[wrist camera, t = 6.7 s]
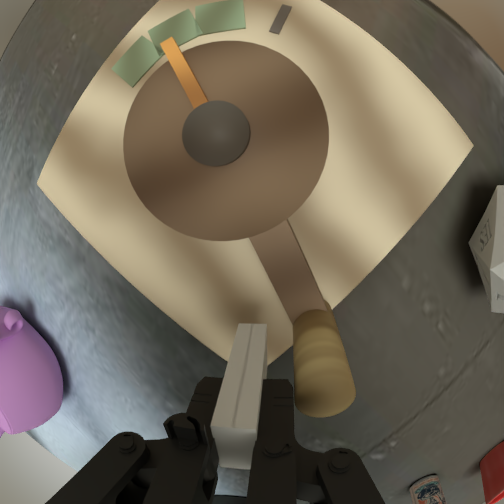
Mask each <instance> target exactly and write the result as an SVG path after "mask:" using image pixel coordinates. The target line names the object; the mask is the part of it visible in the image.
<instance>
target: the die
mask: <svg viewBox="0 0 504 504" xmlns="http://www.w3.org/2000/svg"><path fill="white" fill-rule="evenodd" d="M468 243H469V246H470V248H471V251H472V254H473V256H474V259H475V261H476V264H477V265H478V270H479V273H480V276H481V278H482V282H483V285H484V288H485V291H486V294H487V298H488V301H489V305H490V308H491V312H497V313H504V185H497V187H496V189H495V192H494V194H493V196H492V198H491V200H490V202H489V204H488V207H487V209H486V211H485V213H484V215H483V217H482V219H481V220H480V222H479V224H478V226H477V228H476V230H475V232H474V233H473V235H472V237H471V239H470V241H469V242H468Z"/></svg>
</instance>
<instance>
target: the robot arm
mask: <svg viewBox="0 0 504 504" xmlns="http://www.w3.org/2000/svg"><path fill="white" fill-rule="evenodd" d="M266 377H267V324H244V323H239V324H238V328H237V331H236V335H235V339H234V342H233V346H232V350H231V353H230V357H229V360H228V364H227V368H226V371H225V375H224V378H215V377H204V378H203V379H202V380H201V381H200V382H199V383H198V384H197V386H196V389H195V391H194V395H193V396H192V399H191V402H190V404H189V407H188V409H187V412H186V413H179V414H175V415H172V416H171V417H169V418H168V419H167V420H166V421H165V422H164V424H163V425H164V427H165V430H166V432H167V435H168V437H169V438H166V439H160V440H144V439H143V437H141V436H140V435H139V434H137V433H134V432H122V433H119V434H117V435H116V436H114V437H113V438H112V439H111V440H110V441H109V442H108V443H107V444H106V445H105V446H104V447H103V448H102V449H101V450H100V451H99V452H98V453H97V454H96V455H95V456H94V457H93V458H92V459H91V460H90V461H89V462H88V463H87V464H86V465H85V466H84V467H83V468H82V469H81V470H80V471H79V472H78V473H77V474H76V475H75V476H74V477H73V478H72V479H70V481H68V482H67V483H66V484H65V485H64V486H63V487H62V488H61V489H60V490H59V491H58V492H57V493H56V494H55V495H54V496H53V497H52V498H51V499H50V500H48V501H47V502H46V503H45V504H296V499H300V500H304V501H308V502H310V504H385V502H384V501H383V499H382V497H381V495H380V493H379V491H378V490H377V488H376V486H375V484H374V482H373V481H372V479H371V477H370V475H369V473H368V471H367V470H366V468H365V466H364V464H363V462H362V461H361V459H360V457H359V456H358V455H357V454H356V453H355V452H354V451H352V450H350V449H345V448H335V449H331V450H329V451H327V452H325V453H319V452H314V451H310V450H307V449H305V448H303V447H302V446H300V445H299V444H298V443H297V441H296V439H295V435H294V407H293V405H294V404H293V387H292V385H291V384H290V382H289V381H288V379H266ZM218 463H219V464H220V467H225V468H236V469H248V470H250V477H249V485H248V492H247V498H242V497H231V496H214V494H215V490H216V485H217V481H218V474H217V467H218Z"/></svg>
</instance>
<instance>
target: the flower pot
mask: <svg viewBox="0 0 504 504" xmlns="http://www.w3.org/2000/svg"><path fill="white" fill-rule="evenodd" d="M480 470H481V475H482V482H483V488H484V495H485V502H486V504H494V503H496V502H498V501H499V500H501V499H502V498H504V441H503V442H501V443H500V444H498V445H497V446H496V447H494V448H493V449H492V450H491V451H490V452H489V453H488V454H486V455H485V457H484V458H483V459H482V460H481V462H480Z"/></svg>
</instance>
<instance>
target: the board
mask: <svg viewBox="0 0 504 504" xmlns="http://www.w3.org/2000/svg"><path fill="white" fill-rule="evenodd" d="M170 37H173V38H174V39H175V41H176V43H177V45H178V46H179V48H180V50H181V52H183V51H185V50H187V49H190V48H193V47H195V46H198V45H202V44H206V43H210V42H217V41H244V42H251V43H255V44H259V45H262V46H266V47H268V48H270V49H272V50H275V51H277V52H279V53H281V54H282V55H284V56H285V57H287V58H289V59H290V60H291V61H293V62H294V63H295V64H296V65H297V66H299V67H300V68H301V69H302V70H303V72H304V73H305V74H306V75H307V76H308V77H309V78H310V80H311V81H312V83H313V84H314V86H315V87H316V89H317V91H318V93H319V95H320V97H321V99H322V101H323V104H324V107H325V110H326V114H327V119H328V125H329V146H328V154H327V159H326V162H325V166H324V169H323V172H322V174H321V176H320V179H319V181H318V183H317V185H316V186H315V188H314V190H313V191H312V193H311V195H310V196H309V197H308V198H307V200H306V201H305V202H304V203H303V205H302V206H301V207H300V208H299V209H298V210H297V211H296V212H295V213H293V214H292V215H291V216H290V217H289V218H287V219H288V221H289V223H290V225H291V227H292V229H293V231H294V233H295V236H296V238H297V240H298V242H299V244H300V246H301V249H302V251H303V253H304V255H305V257H306V260H307V262H308V264H309V266H310V269H311V271H312V273H313V275H314V278H315V280H316V282H317V284H318V287H319V289H320V291H321V294H322V296H323V298H324V300H326V301H327V302H328V303H329V305H330V306H331V309H333V308H334V307H335V306H336V305H337V304H338V303H339V302H341V301H342V300H343V299H344V298H345V297H346V296H347V295H348V294H349V293H350V292H351V291H352V290H353V289H354V288H355V287H356V286H357V285H358V284H359V283H360V282H361V281H362V280H363V279H364V278H365V277H366V276H367V275H368V274H369V273H370V272H371V271H372V270H373V269H374V267H375V266H376V265H377V264H378V263H379V262H380V261H381V260H382V259H383V258H384V257H385V256H386V255H387V254H388V253H389V251H390V250H391V249H392V248H393V247H394V246H395V245H396V244H397V243H398V242H399V240H400V239H401V238H402V237H403V236H404V235H405V234H406V232H407V231H408V230H409V229H410V228H411V227H412V226H413V224H414V223H415V222H416V221H417V220H418V218H419V217H420V216H421V215H422V214H423V212H424V211H425V210H426V209H427V208H428V206H429V205H430V204H431V203H432V201H433V200H434V199H435V198H436V196H437V195H438V194H439V193H440V191H441V190H442V189H443V187H444V186H445V185H446V184H447V182H448V181H449V180H450V178H451V177H452V176H453V174H454V173H455V171H456V170H457V169H458V167H459V166H460V165H461V163H462V162H463V160H464V159H465V158H466V156H467V155H468V153H469V152H470V150H471V149H472V147H473V146H474V145H473V144H472V142H471V141H470V140H469V138H468V137H467V135H466V134H465V133H464V131H463V130H462V129H461V127H460V126H459V125H458V123H457V122H456V121H455V120H454V118H453V117H452V116H451V115H450V113H449V112H448V111H447V110H446V109H445V107H444V106H443V105H442V104H441V103H440V101H439V100H438V99H437V98H436V97H435V96H434V95H433V94H432V92H431V91H430V90H429V89H428V88H427V87H426V86H425V85H424V84H423V83H422V82H421V81H420V80H419V79H418V78H417V77H416V76H415V75H414V74H413V73H412V72H411V71H410V70H409V69H408V68H407V67H406V66H405V65H404V64H403V63H402V62H401V61H400V60H399V59H398V58H396V57H395V56H394V55H393V54H392V53H391V52H390V51H389V50H387V49H386V48H385V47H384V46H383V45H382V44H380V43H379V42H378V41H377V40H375V39H374V38H373V37H372V36H370V35H369V34H368V33H367V32H365V31H364V30H363V29H361V28H360V27H359V26H357V25H356V24H355V23H353V22H352V21H350V20H349V19H348V18H346V17H345V16H343V15H342V14H340V13H339V12H337V11H336V10H334V9H333V8H331V7H330V6H328V5H326V4H325V3H323V2H322V1H320V0H159V1H158V2H157V3H156V4H155V5H154V6H153V7H152V8H151V9H150V10H149V11H148V12H147V13H146V14H145V15H144V16H143V17H142V19H141V20H140V21H139V22H138V23H137V24H136V25H135V26H134V27H133V28H132V29H131V31H130V32H129V33H128V34H127V35H126V36H125V37H124V39H123V40H122V41H121V42H120V43H119V45H118V46H117V47H116V48H115V50H114V51H113V52H112V53H111V55H110V56H109V57H108V59H107V60H106V61H105V63H104V64H103V65H102V67H101V68H100V69H99V71H98V72H97V74H96V75H95V76H94V78H93V79H92V81H91V82H90V84H89V85H88V87H87V88H86V90H85V91H84V93H83V94H82V96H81V97H80V99H79V101H78V102H77V104H76V106H75V107H74V109H73V111H72V112H71V114H70V116H69V118H68V119H67V121H66V123H65V125H64V127H63V128H62V130H61V132H60V134H59V136H58V138H57V140H56V142H55V144H54V146H53V148H52V150H51V152H50V154H49V156H48V159H47V161H46V163H45V165H44V167H43V170H42V172H41V174H40V177H39V179H38V182H37V185H38V186H39V187H40V188H41V190H42V191H43V192H44V193H45V194H46V196H47V197H48V198H49V199H50V200H51V202H52V203H53V204H54V205H55V206H56V207H57V208H58V210H59V211H60V212H61V213H62V214H63V215H64V216H65V217H66V219H67V220H68V221H69V222H70V223H71V224H72V225H73V226H74V227H75V228H76V229H77V230H78V232H79V233H80V234H81V235H82V236H83V237H84V238H85V239H86V240H87V241H88V242H89V243H90V244H91V245H92V246H93V247H94V248H95V249H96V250H97V251H98V252H99V253H100V254H101V255H102V256H103V257H104V258H105V259H106V260H107V261H108V262H109V263H110V264H111V265H112V266H113V267H114V268H115V269H116V270H117V271H118V272H119V273H120V274H122V275H123V276H124V277H125V278H126V279H127V280H128V281H129V282H130V283H131V284H132V285H133V286H135V287H136V288H137V289H138V290H139V291H140V292H141V293H142V294H143V295H145V296H146V297H147V298H148V299H149V300H150V301H151V302H153V303H154V304H155V305H156V306H157V307H158V308H160V309H161V310H162V311H163V312H164V313H166V314H167V315H168V316H169V317H170V318H172V319H173V320H174V321H175V322H176V323H178V324H179V325H180V326H181V327H183V328H184V329H185V330H186V331H188V332H189V333H190V334H191V335H193V336H194V337H195V338H197V339H198V340H199V341H200V342H202V343H203V344H204V345H206V346H207V347H208V348H210V349H211V350H212V351H214V352H215V353H216V354H218V355H219V356H220V357H222V358H223V359H224V360H226V361H227V362H228V360H229V357H230V353H231V350H232V346H233V342H234V339H235V335H236V331H237V328H238V324H239V323H244V324H267V366H268V365H269V364H270V363H272V362H273V361H274V360H275V359H276V358H278V357H279V356H280V355H281V354H282V353H284V352H285V351H286V350H287V349H288V348H290V347H291V346H292V345H293V325H292V323H291V321H290V319H289V317H288V315H287V313H286V311H285V309H284V307H283V305H282V303H281V301H280V299H279V297H278V295H277V293H276V291H275V289H274V287H273V285H272V283H271V281H270V279H269V277H268V275H267V273H266V271H265V269H264V267H263V265H262V263H261V261H260V259H259V257H258V255H257V253H256V251H255V249H254V247H253V245H252V243H251V241H250V239H249V238H245V239H241V240H233V241H209V240H202V239H197V238H194V237H190V236H187V235H185V234H182V233H180V232H178V231H175V230H174V229H172V228H170V227H169V226H167V225H165V224H164V223H162V222H161V221H160V220H159V219H157V218H156V217H155V216H154V215H153V214H152V213H151V212H150V211H149V210H148V209H147V208H146V207H145V206H144V204H143V203H142V202H141V200H140V199H139V198H138V196H137V194H136V192H135V190H134V189H133V187H132V185H131V182H130V179H129V177H128V174H127V170H126V166H125V161H124V153H123V137H124V129H125V124H126V120H127V116H128V113H129V110H130V108H131V105H132V103H133V101H134V99H135V97H136V95H137V94H138V92H139V90H140V89H141V87H142V86H143V85H144V83H145V82H146V80H147V79H148V78H149V77H150V76H151V75H152V74H153V73H154V72H155V71H156V70H157V69H158V68H159V67H160V66H162V65H163V64H164V63H165V62H167V61H168V58H167V56H166V54H165V53H164V51H163V49H162V47H161V45H160V43H162V42H164V41H165V40H167V39H169V38H170Z"/></svg>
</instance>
